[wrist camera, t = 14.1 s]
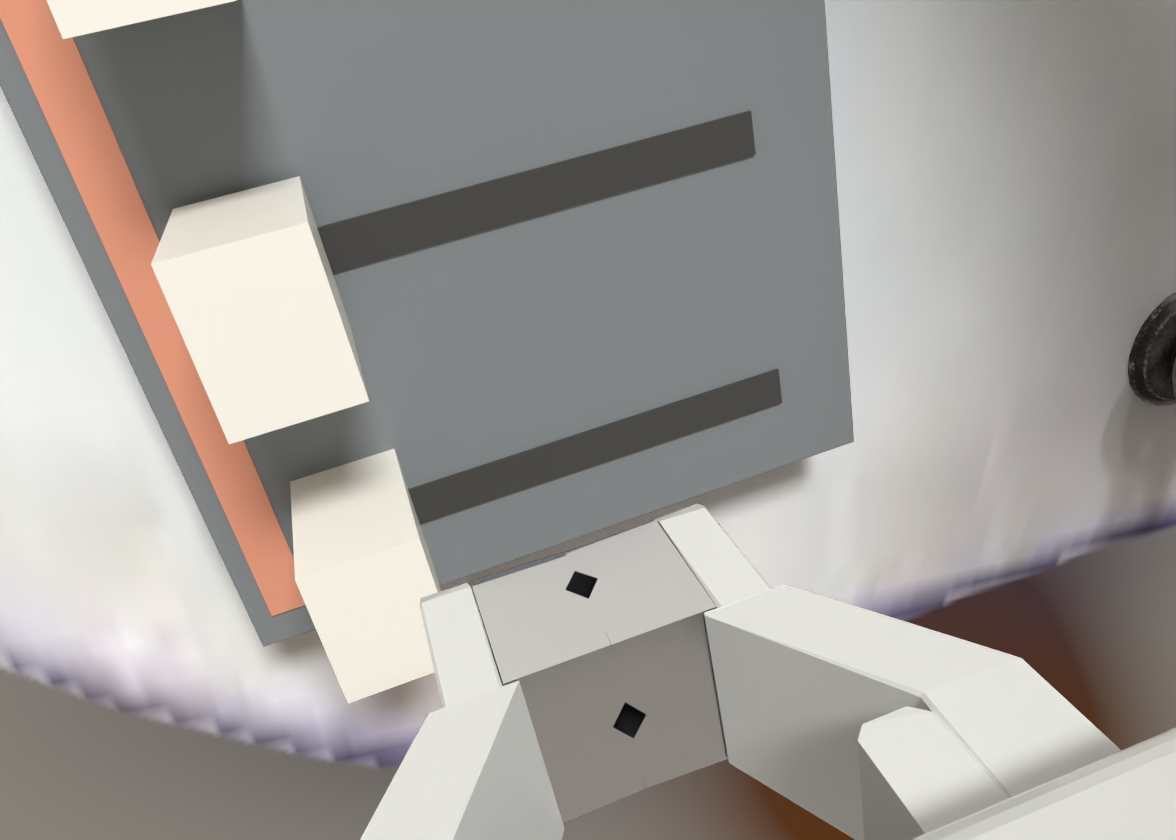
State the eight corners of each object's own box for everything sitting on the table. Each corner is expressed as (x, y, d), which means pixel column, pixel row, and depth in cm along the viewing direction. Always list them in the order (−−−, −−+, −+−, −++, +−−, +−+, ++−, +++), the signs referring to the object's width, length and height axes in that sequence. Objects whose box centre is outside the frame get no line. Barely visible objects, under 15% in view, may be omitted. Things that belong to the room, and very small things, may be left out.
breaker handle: (299, 176, 23) (307, 222, 18) (350, 327, 24) (369, 401, 20) (172, 208, 22) (151, 264, 18) (235, 360, 24) (228, 444, 20)
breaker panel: (741, -341, 24) (934, -471, 17) (809, 406, 34) (946, 514, 27) (-92, -197, 20) (-275, -287, 14) (263, 590, 31) (263, 767, 24)
